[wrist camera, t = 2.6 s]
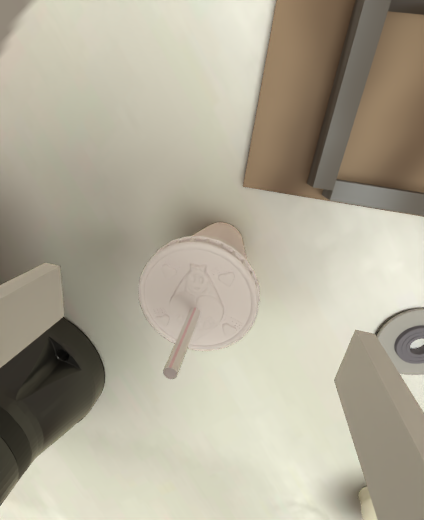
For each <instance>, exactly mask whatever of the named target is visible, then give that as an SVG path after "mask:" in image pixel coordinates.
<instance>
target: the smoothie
mask: <svg viewBox="0 0 424 520" xmlns="http://www.w3.org/2000/svg"><path fill="white" fill-rule="evenodd" d="M138 296H139V302H140V305H141V309H142V311H143V313H144V315H145V317H146V319H147V320H148V322H149V323H150V324H151V326H152V327H153V328H154V329H155V330H156V331H157V332H158V333H159V334H160V335H162V336H163V337H164V338H166V339H167V340H169V341H170V342H172V343H174V344H175V345H174V348H173V350H172V352H171V354H170V356H169V359H168V361H167V363H166V365H165V368H164V370H163V374H164V376H165V377H167V378H169V379H175V378H176V377H177V375H178V372H179V370H180V367H181V364H182V362H183V359H184V356H185V354H186V351H187V349H192V350H198V351H212V350H218V349H222V348H225V347H228V346H230V345H232V344H234V343H236V342H237V341H239V340H240V339H241V338H243V337H244V336H245V335H246V334H247V333H248V331H249V330H250V329H251V327H252V325H253V324H254V322H255V319H256V316H257V312H258V305H259V302H260V287H259V283H258V280H257V277H256V274H255V271H254V270H253V268H252V267H251V265H250V264H249V262H248V261H247V257H246V252H245V248H244V244H243V239H242V236H241V234H240V232H239V231H238V230H237V229H236V228H235V227H234V226H232V225H230V224H228V223H223V222H218V223H213V224H211V225H209V226H207V227H206V228H204V229H202V230H200V231H199V232H197V233H195V234H194V235H192V236H185V237H182V238H179V239H176V240H172V241H170V242H169V243H167V244H165V245H164V246H162V247H161V248H159V249H158V250H157V251H156V253H155V254H154V255H153V256H152V257H151V259H150V260H149V261H148V263H147V264H146V265H145V267H144V269H143V271H142V273H141V276H140V280H139V285H138Z"/></svg>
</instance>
